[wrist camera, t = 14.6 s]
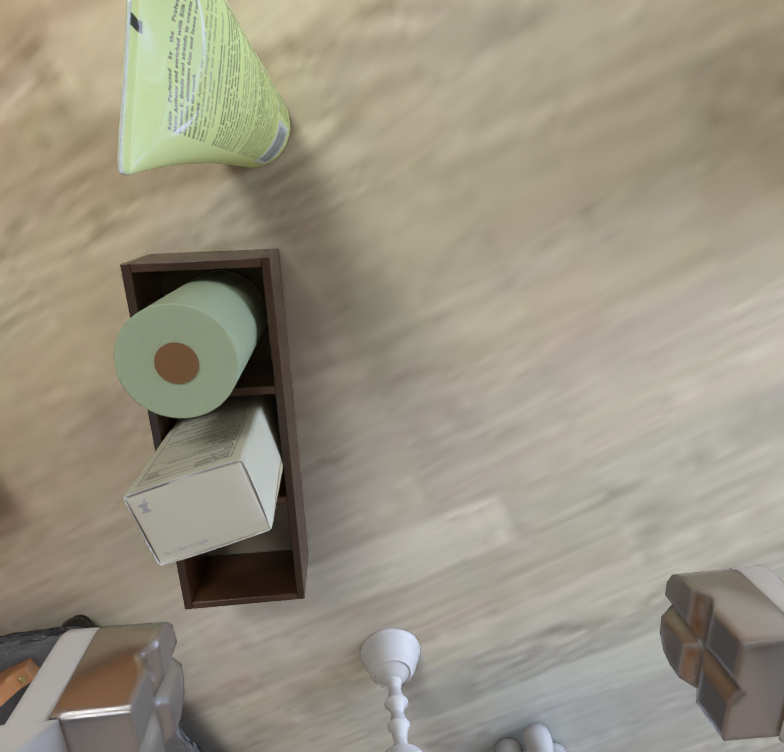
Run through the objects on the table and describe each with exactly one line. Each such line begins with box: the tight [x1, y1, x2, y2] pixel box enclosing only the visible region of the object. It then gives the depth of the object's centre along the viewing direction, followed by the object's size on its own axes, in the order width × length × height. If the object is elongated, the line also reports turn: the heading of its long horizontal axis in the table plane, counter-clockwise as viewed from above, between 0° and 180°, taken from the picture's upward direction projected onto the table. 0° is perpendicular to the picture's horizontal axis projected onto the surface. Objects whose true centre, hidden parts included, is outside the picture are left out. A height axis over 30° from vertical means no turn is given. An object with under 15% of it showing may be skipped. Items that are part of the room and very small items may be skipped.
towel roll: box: [114, 271, 267, 418], centre depth 31 cm, size 6×6×11 cm
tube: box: [118, 0, 290, 175], centre depth 23 cm, size 6×5×20 cm
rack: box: [120, 249, 308, 609], centre depth 36 cm, size 8×23×5 cm, turn 2°
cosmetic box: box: [123, 394, 283, 565], centre depth 33 cm, size 6×4×12 cm
